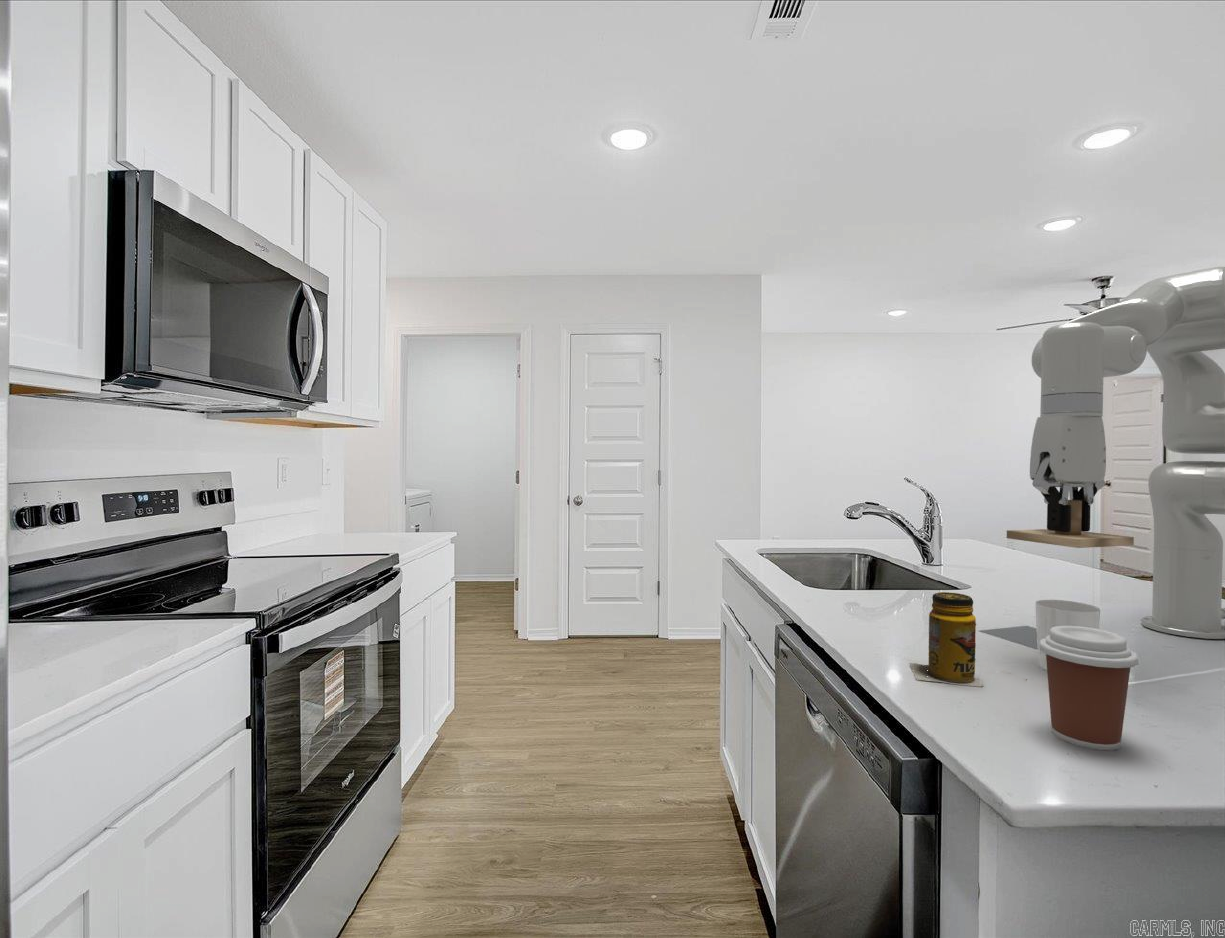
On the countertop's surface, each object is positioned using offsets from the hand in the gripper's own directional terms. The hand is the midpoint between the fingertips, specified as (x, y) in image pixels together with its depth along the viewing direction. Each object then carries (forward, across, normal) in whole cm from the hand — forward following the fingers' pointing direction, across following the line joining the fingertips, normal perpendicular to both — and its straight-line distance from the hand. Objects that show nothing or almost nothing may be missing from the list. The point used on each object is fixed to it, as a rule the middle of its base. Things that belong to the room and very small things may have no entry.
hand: (1068, 529), depth 94 cm
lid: (+2, 0, 0) cm, 2 cm away
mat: (+21, -11, -14) cm, 28 cm away
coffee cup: (+22, +20, +17) cm, 34 cm away
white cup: (+22, 0, 0) cm, 22 cm away
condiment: (+22, +19, -4) cm, 29 cm away
